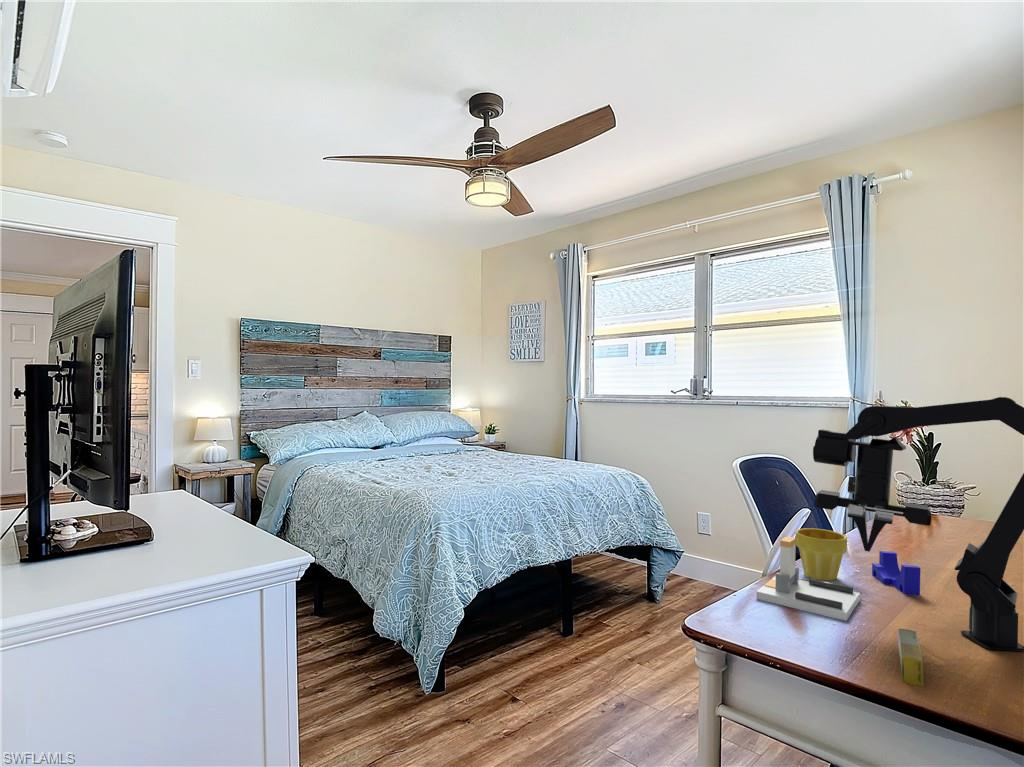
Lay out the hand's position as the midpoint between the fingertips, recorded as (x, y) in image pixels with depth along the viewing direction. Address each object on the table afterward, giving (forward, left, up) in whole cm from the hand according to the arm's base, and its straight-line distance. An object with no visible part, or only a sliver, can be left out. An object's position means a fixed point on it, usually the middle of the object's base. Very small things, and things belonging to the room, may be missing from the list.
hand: (867, 550), depth 111 cm
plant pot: (+21, -1, -12) cm, 24 cm away
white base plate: (+5, +9, -12) cm, 15 cm away
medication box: (-23, +6, -12) cm, 26 cm away
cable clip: (+17, -15, -12) cm, 26 cm away
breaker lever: (+8, +12, -9) cm, 16 cm away
